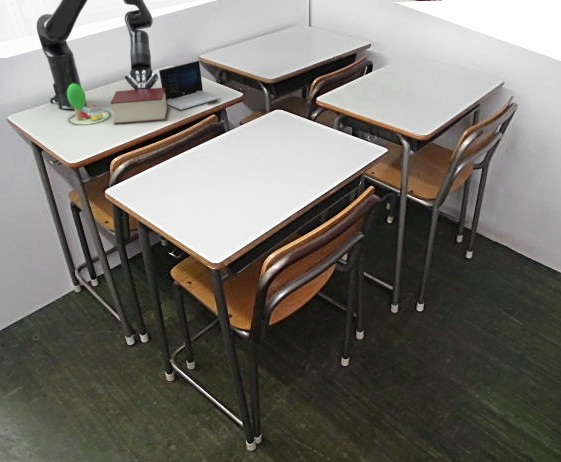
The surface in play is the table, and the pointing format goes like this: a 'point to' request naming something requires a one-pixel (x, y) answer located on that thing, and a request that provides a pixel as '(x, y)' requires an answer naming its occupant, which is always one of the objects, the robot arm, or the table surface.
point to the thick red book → (140, 105)
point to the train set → (83, 107)
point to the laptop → (184, 86)
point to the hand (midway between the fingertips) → (142, 98)
